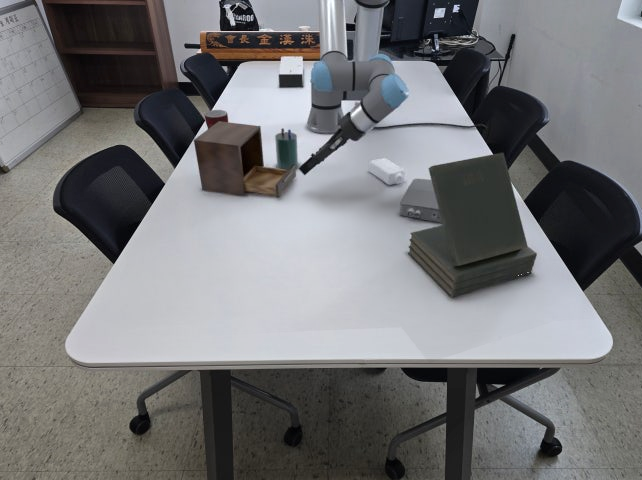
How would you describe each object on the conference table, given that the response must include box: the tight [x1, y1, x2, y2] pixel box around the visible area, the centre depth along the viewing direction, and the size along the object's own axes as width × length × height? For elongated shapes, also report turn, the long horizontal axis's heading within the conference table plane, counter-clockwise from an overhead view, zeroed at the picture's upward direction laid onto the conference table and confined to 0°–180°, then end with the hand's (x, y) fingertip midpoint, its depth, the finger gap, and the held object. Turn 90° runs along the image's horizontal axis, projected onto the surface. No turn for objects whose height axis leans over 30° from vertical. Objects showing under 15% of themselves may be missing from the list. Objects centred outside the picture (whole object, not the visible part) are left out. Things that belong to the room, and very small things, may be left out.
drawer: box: [244, 164, 297, 199], centre depth 153 cm, size 14×15×4 cm
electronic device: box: [399, 178, 443, 224], centre depth 143 cm, size 19×22×5 cm
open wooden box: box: [193, 121, 265, 197], centre depth 152 cm, size 14×16×16 cm
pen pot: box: [274, 127, 299, 170], centre depth 163 cm, size 7×7×13 cm
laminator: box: [278, 55, 304, 88], centre depth 248 cm, size 34×12×6 cm, turn 3°
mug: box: [204, 109, 229, 130], centre depth 180 cm, size 10×8×10 cm
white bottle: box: [368, 157, 406, 186], centre depth 159 cm, size 6×13×4 cm, turn 30°
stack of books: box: [407, 152, 538, 299], centre depth 115 cm, size 23×20×25 cm
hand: (302, 171), depth 148 cm, fingers closed
